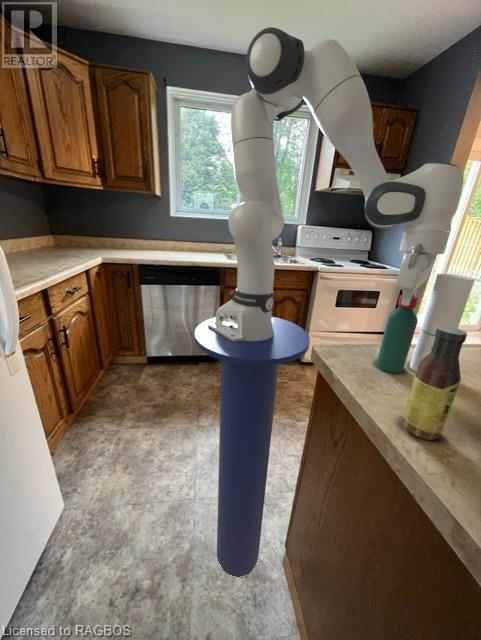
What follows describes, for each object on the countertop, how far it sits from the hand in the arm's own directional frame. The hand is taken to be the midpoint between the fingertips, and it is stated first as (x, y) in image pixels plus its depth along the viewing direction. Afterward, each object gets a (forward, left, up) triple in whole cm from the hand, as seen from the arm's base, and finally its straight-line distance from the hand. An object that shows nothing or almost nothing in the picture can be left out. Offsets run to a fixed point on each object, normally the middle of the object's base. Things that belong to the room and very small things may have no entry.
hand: (407, 302), depth 66 cm
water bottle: (0, 0, -18) cm, 18 cm away
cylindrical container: (+7, +5, -18) cm, 20 cm away
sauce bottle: (+10, -22, -18) cm, 30 cm away
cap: (0, 0, +1) cm, 1 cm away
